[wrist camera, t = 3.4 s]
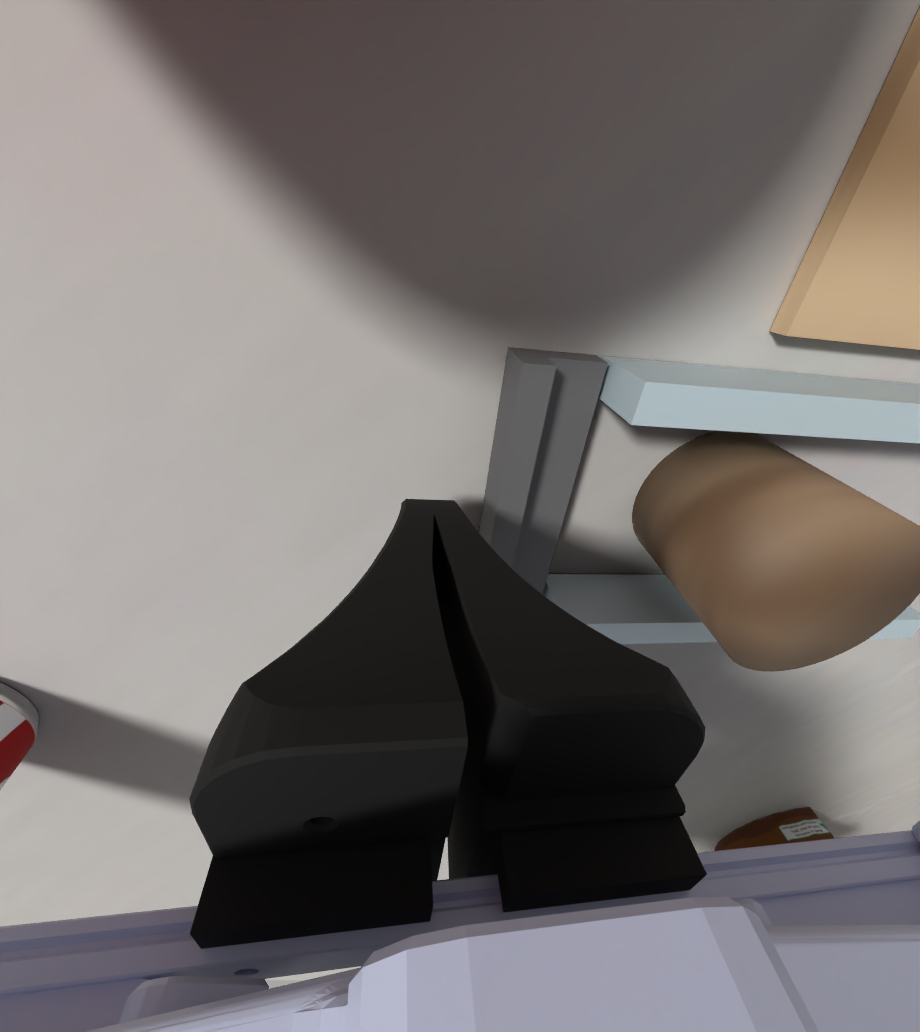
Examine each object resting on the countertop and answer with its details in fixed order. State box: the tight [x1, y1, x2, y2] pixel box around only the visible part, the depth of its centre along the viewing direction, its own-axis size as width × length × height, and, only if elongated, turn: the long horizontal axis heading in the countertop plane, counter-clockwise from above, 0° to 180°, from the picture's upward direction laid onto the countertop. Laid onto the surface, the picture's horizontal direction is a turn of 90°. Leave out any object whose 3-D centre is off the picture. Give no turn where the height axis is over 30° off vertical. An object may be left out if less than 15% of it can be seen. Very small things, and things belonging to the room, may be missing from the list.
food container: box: [715, 807, 835, 851], centre depth 29 cm, size 12×6×10 cm, turn 173°
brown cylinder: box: [632, 431, 920, 671], centre depth 12 cm, size 5×5×5 cm
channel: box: [542, 356, 920, 644], centre depth 14 cm, size 9×14×2 cm, turn 84°
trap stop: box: [479, 347, 608, 594], centre depth 13 cm, size 9×2×2 cm, turn 174°
